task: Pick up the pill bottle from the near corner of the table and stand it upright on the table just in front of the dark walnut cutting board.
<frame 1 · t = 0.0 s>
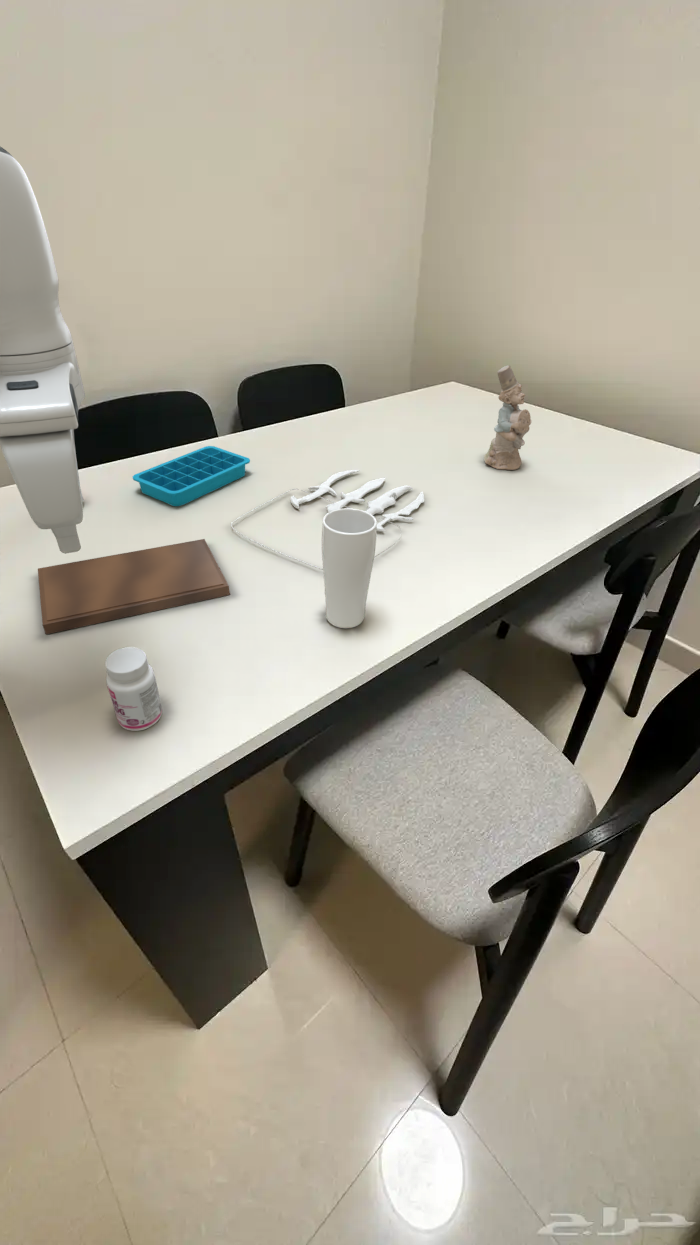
hand: (66, 525, 57), 20 cm above the table, tool pointing down, fingers open, 8 cm apart
figurine: (500, 464, 125), on the table
cutting board: (134, 586, 83), on the table
pill bottle: (140, 717, 64), on the table
ice cube tray: (195, 483, 111), on the table
drinking glass: (344, 619, 80), on the table
knife set: (343, 516, 103), on the table
energy drink can: (66, 507, 101), on the table
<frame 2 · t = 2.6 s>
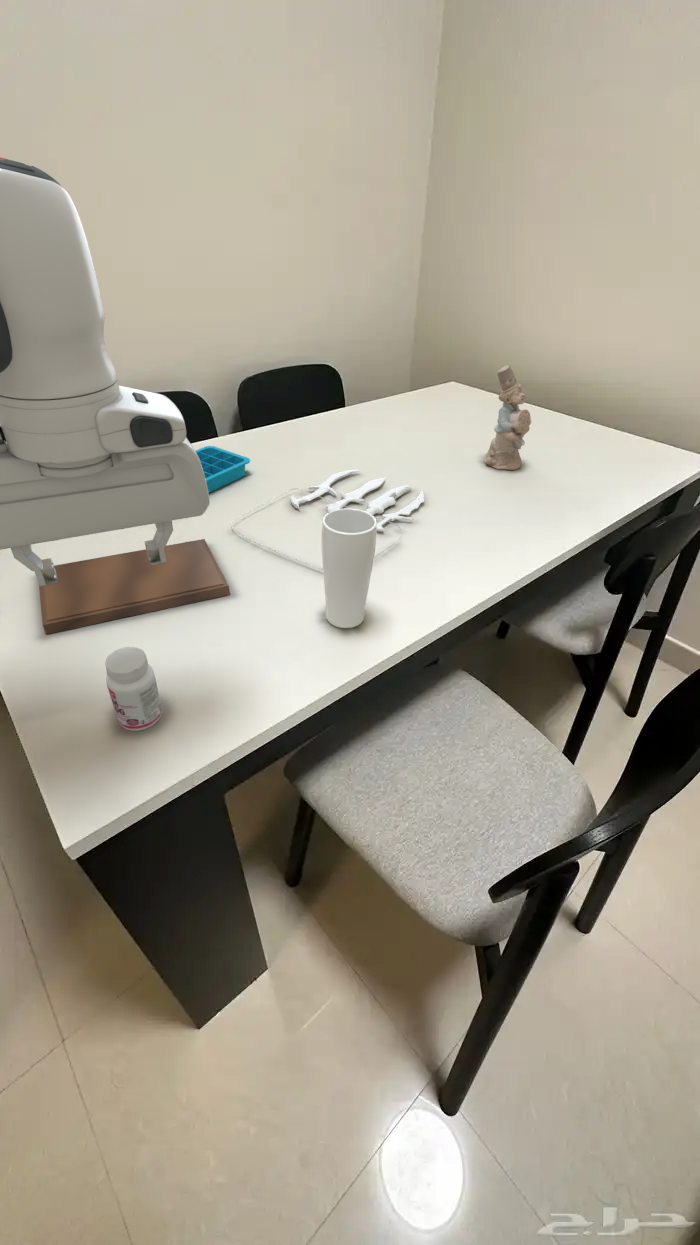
hand: (104, 570, 53), 18 cm above the table, tool pointing down, fingers open, 8 cm apart
nothing on the table moved.
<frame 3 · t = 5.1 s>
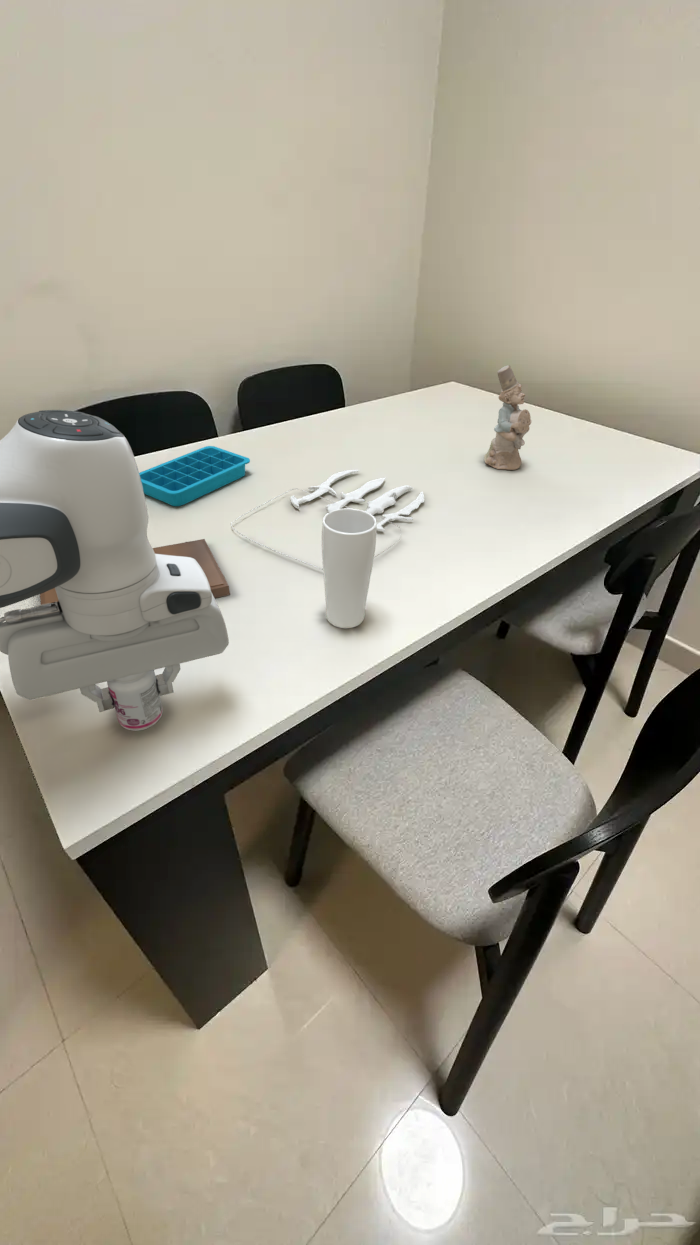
hand: (137, 698, 62), 3 cm above the table, tool pointing down, fingers closed on pill bottle, 5 cm apart
pill bottle: (141, 717, 64), on the table, touching gripper
everything else where it was.
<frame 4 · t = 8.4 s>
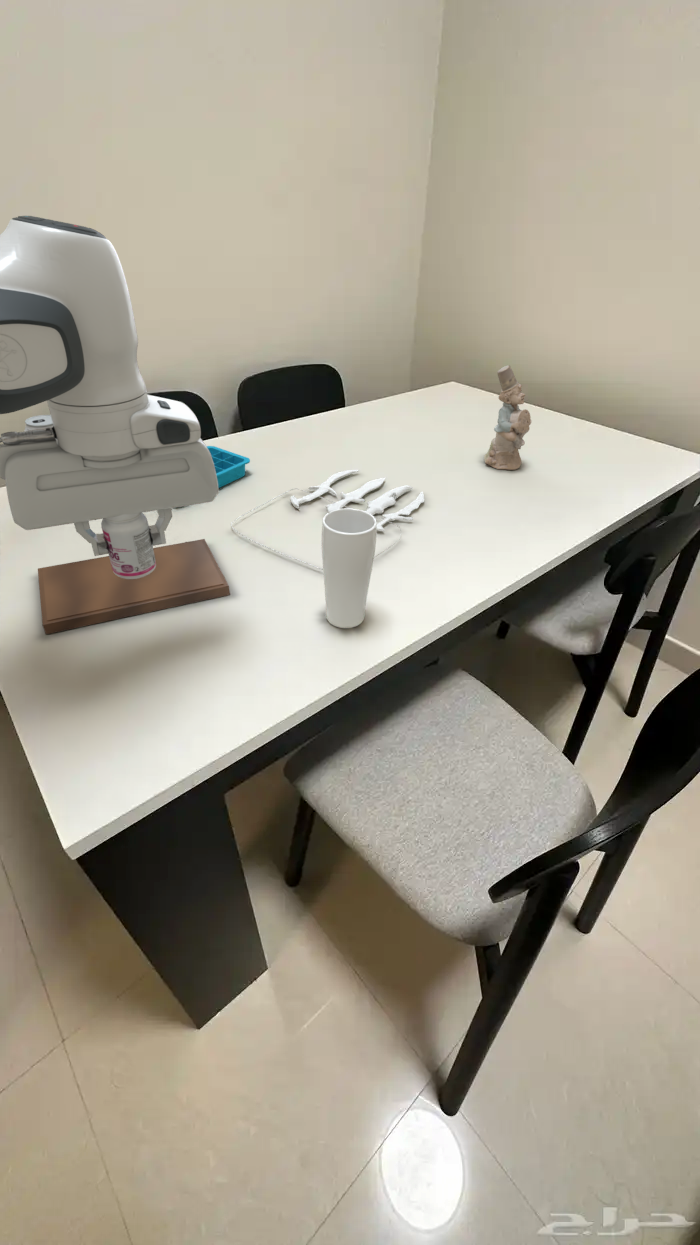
hand: (130, 547, 64), 14 cm above the table, tool pointing down, fingers closed on pill bottle, 5 cm apart
pill bottle: (135, 570, 66), point 11 cm above the table, touching gripper
everything else where it was.
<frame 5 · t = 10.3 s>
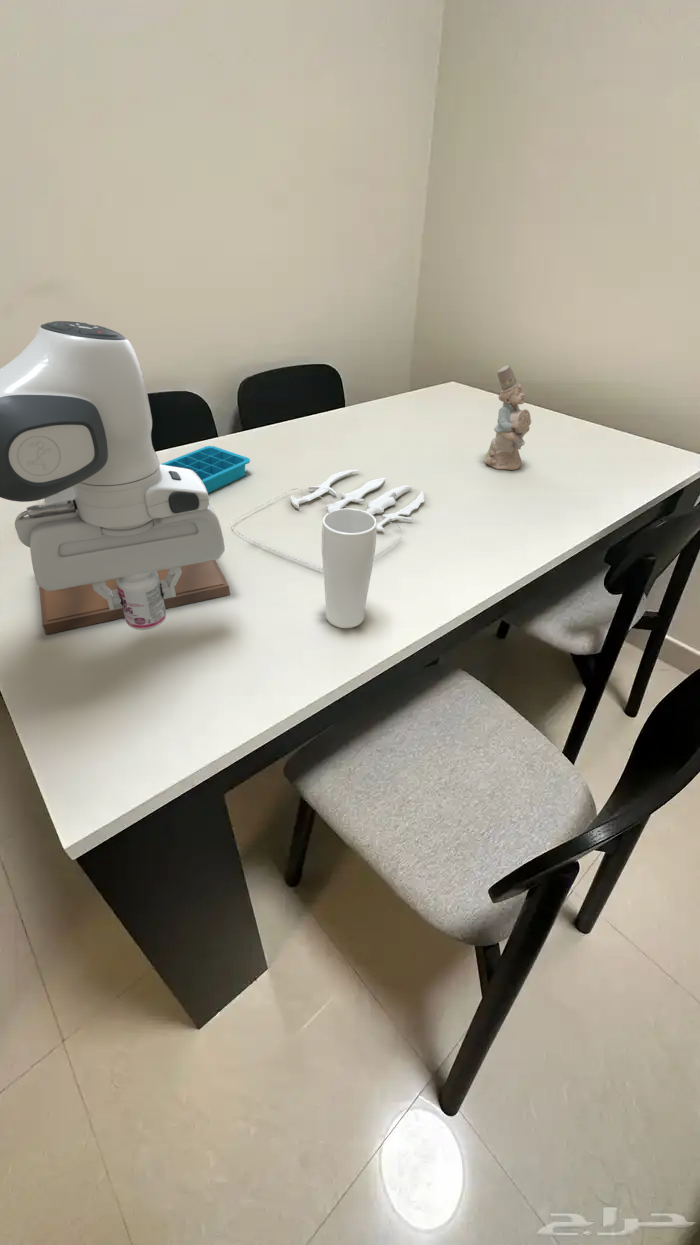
hand: (143, 600, 69), 7 cm above the table, tool pointing down, fingers closed on pill bottle, 5 cm apart
pill bottle: (146, 620, 71), point 4 cm above the table, touching gripper
everything else where it was.
when the fingers open (3 cm above the table, at t = 11.9 s): pill bottle stays where it is, on the table.
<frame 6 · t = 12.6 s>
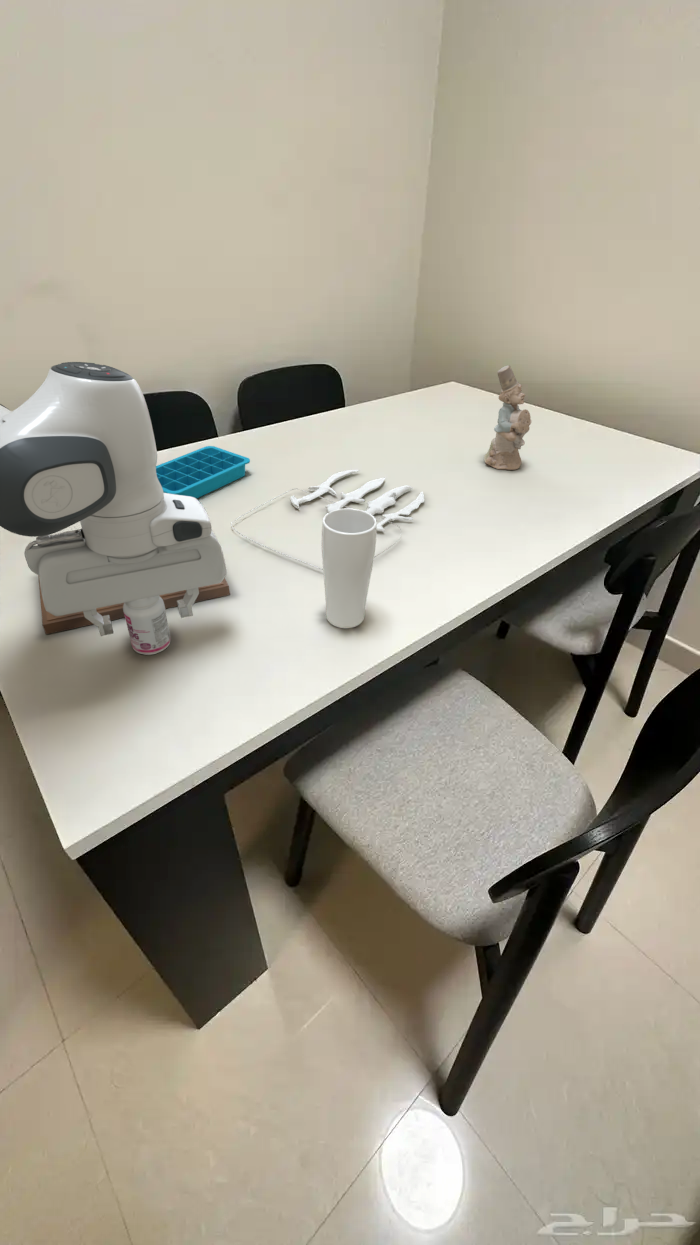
hand: (147, 623, 71), 4 cm above the table, tool pointing down, fingers open, 8 cm apart
pill bottle: (151, 644, 74), on the table
everything else where it was.
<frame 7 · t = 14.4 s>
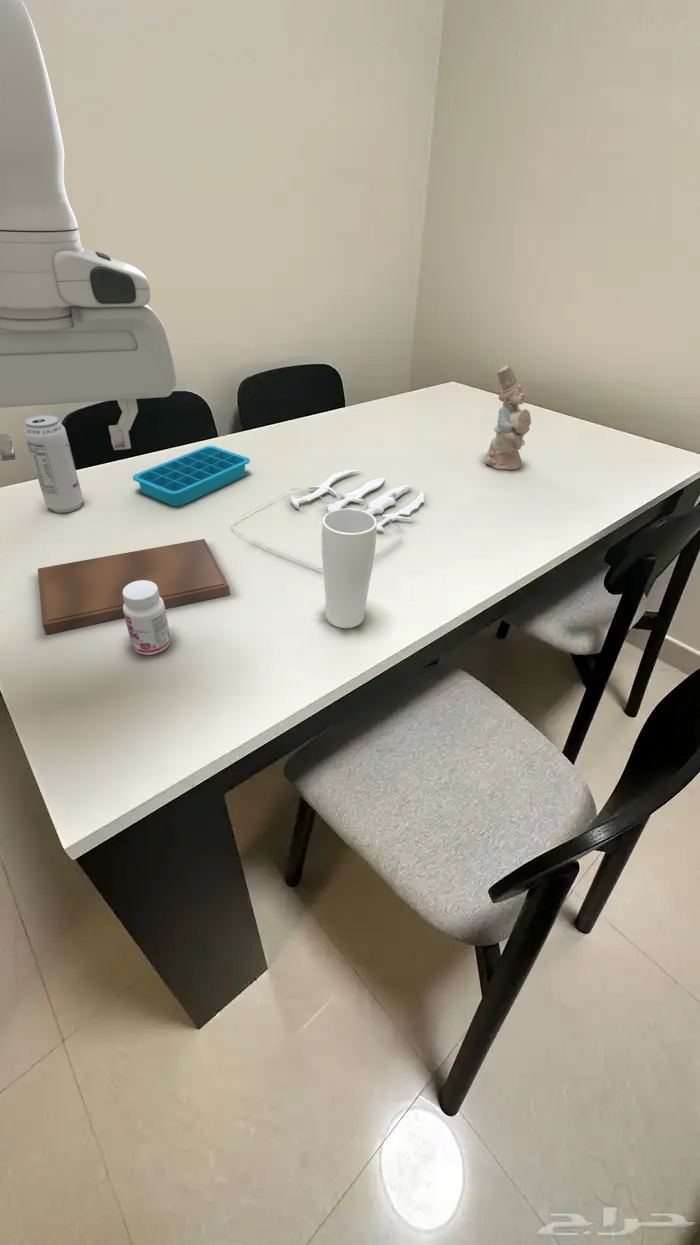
hand: (66, 452, 52), 28 cm above the table, tool pointing down, fingers open, 8 cm apart
nothing on the table moved.
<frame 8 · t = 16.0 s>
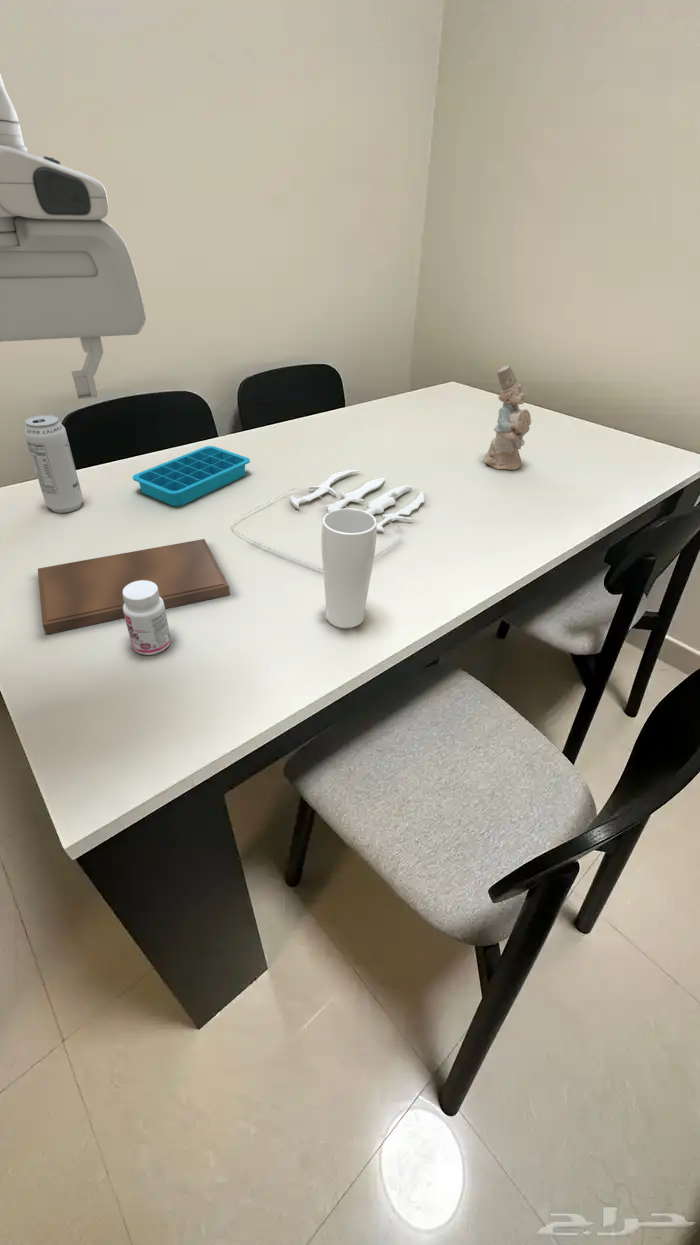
hand: (23, 402, 45), 33 cm above the table, tool pointing down, fingers open, 8 cm apart
nothing on the table moved.
at the end: pill bottle inside the target area on the table beside the cutting board (0.2 cm from its centre), on the table; pill bottle tilted 0°; the gripper is holding nothing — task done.
